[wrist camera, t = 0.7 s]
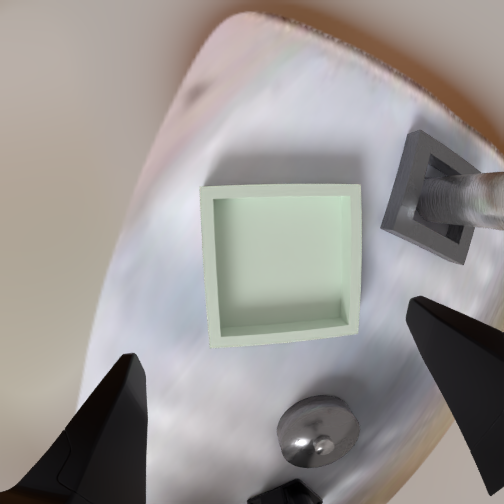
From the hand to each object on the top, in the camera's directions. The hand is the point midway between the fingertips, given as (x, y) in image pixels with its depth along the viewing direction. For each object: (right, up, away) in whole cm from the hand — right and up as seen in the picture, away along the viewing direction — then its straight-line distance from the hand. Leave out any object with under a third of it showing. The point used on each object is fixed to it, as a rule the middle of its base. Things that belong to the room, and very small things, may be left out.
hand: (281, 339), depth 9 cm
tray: (+1, +2, +14) cm, 14 cm away
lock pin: (+15, +7, +14) cm, 22 cm away
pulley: (+5, -13, +16) cm, 21 cm away
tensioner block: (+15, +7, +14) cm, 22 cm away
